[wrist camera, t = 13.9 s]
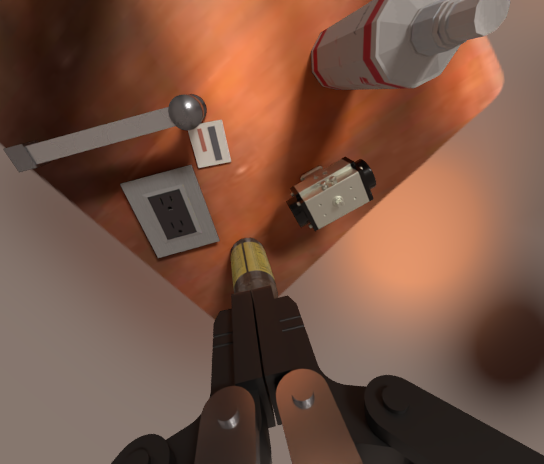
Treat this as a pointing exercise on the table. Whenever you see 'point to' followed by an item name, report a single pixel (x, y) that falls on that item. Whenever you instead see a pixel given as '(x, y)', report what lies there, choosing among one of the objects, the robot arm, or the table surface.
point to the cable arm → (108, 133)
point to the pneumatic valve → (331, 192)
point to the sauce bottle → (251, 267)
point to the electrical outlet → (171, 211)
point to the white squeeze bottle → (400, 41)
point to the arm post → (202, 104)
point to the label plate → (209, 144)
